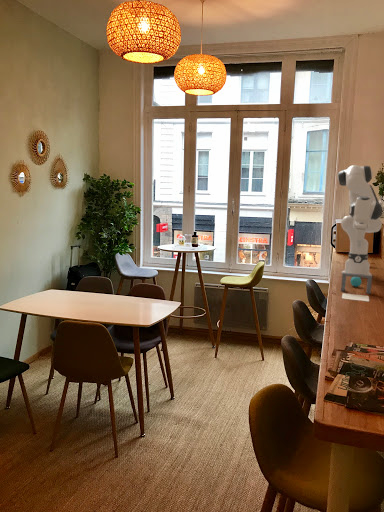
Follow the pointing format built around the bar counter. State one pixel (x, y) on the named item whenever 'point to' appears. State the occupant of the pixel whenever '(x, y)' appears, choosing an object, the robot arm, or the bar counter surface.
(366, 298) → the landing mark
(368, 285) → the bridge
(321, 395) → the bar counter surface
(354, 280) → the ball
